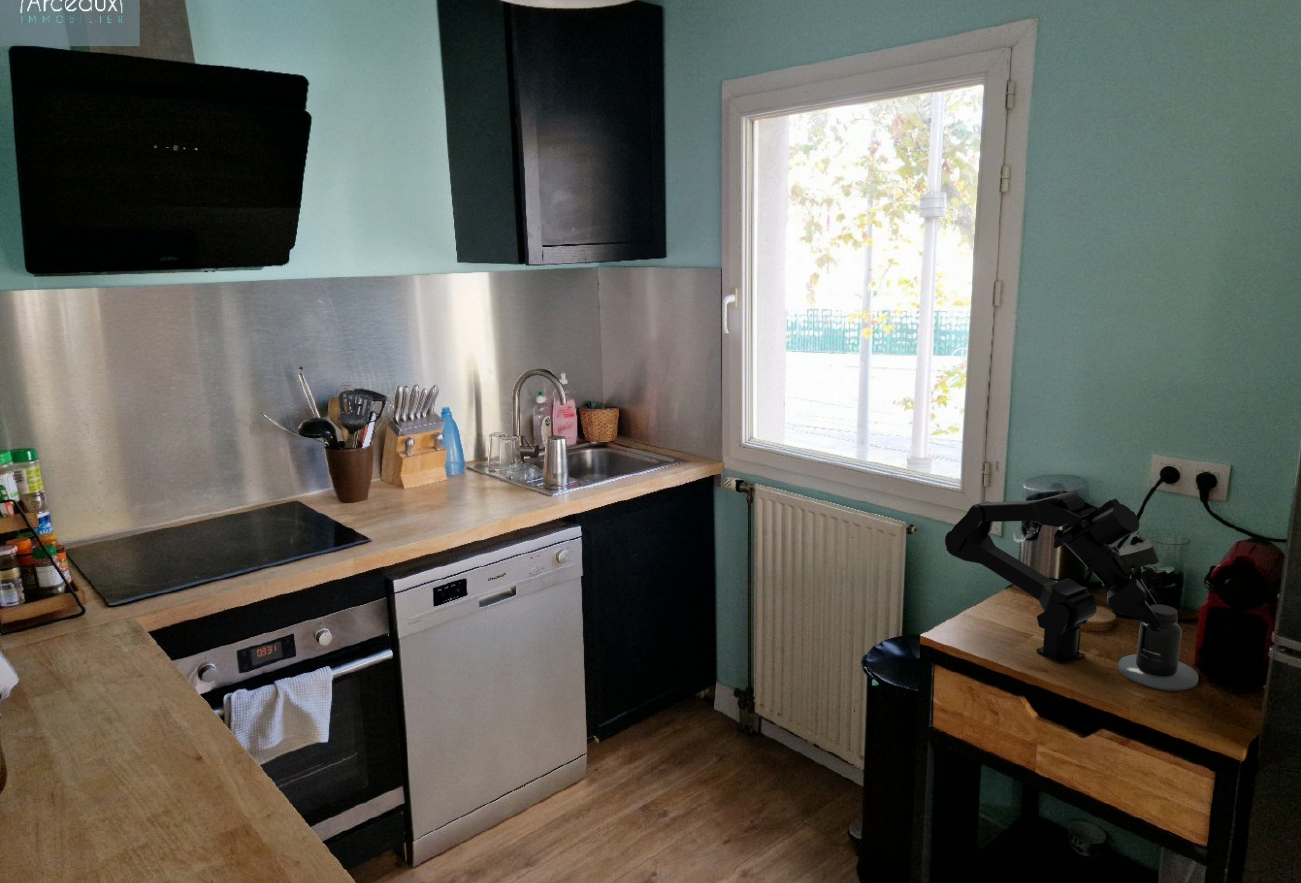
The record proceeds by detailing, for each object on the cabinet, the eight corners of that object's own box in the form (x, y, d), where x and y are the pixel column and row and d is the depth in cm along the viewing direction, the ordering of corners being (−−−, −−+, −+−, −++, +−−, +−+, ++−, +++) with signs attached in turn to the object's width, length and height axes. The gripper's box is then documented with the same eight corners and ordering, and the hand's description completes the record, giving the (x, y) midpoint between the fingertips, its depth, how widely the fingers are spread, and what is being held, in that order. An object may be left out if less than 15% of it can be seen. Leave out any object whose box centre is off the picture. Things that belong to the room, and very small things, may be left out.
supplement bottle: (1140, 675, 164) (1146, 615, 162) (1131, 659, 171) (1137, 600, 168) (1182, 679, 162) (1188, 618, 160) (1171, 662, 169) (1177, 603, 166)
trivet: (1167, 697, 158) (1167, 693, 158) (1102, 667, 170) (1103, 663, 169) (1214, 680, 163) (1214, 676, 163) (1148, 652, 175) (1148, 648, 175)
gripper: (1134, 542, 155) (1202, 610, 153) (1129, 512, 172) (1190, 573, 169) (1081, 579, 160) (1146, 645, 158) (1080, 547, 177) (1139, 606, 174)
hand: (1157, 616), depth 165 cm, fingers open, 9 cm apart
